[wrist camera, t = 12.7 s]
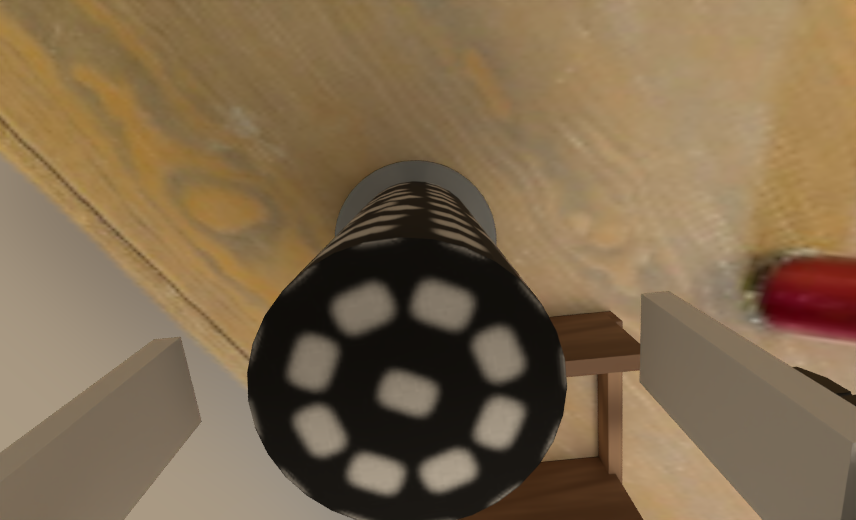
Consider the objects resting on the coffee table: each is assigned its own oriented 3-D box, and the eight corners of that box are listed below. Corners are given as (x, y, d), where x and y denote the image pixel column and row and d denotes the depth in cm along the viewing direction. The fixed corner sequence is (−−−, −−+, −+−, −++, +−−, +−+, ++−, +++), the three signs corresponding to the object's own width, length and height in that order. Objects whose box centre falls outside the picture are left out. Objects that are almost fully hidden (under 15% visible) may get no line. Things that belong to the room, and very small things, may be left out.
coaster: (325, 169, 31) (323, 169, 30) (489, 152, 31) (491, 152, 30) (347, 323, 33) (346, 326, 33) (499, 308, 33) (501, 311, 33)
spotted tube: (338, 278, 32) (212, 477, 13) (377, 162, 30) (299, 187, 11) (451, 316, 33) (495, 560, 13) (495, 206, 31) (620, 303, 12)
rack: (438, 327, 34) (443, 373, 27) (610, 311, 34) (659, 352, 27) (453, 481, 37) (461, 557, 30) (611, 466, 37) (655, 539, 30)
